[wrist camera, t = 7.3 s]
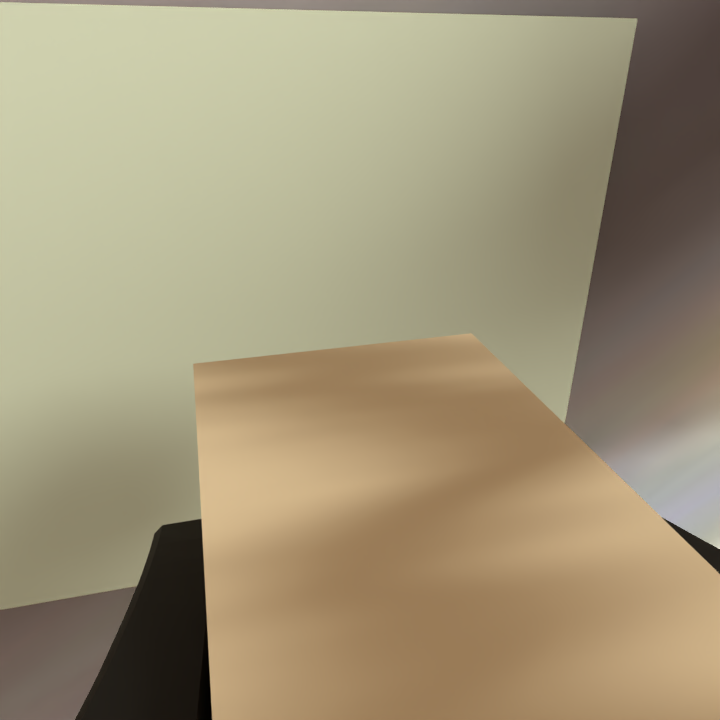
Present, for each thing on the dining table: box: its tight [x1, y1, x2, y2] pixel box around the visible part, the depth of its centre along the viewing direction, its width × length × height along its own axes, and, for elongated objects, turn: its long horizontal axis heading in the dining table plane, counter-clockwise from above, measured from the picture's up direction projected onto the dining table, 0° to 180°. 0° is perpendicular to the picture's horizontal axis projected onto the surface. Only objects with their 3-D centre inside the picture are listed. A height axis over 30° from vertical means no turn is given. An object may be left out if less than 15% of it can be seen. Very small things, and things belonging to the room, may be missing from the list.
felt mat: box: [0, 2, 637, 610], centre depth 16 cm, size 16×14×1 cm
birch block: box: [193, 333, 720, 720], centre depth 8 cm, size 4×4×7 cm
